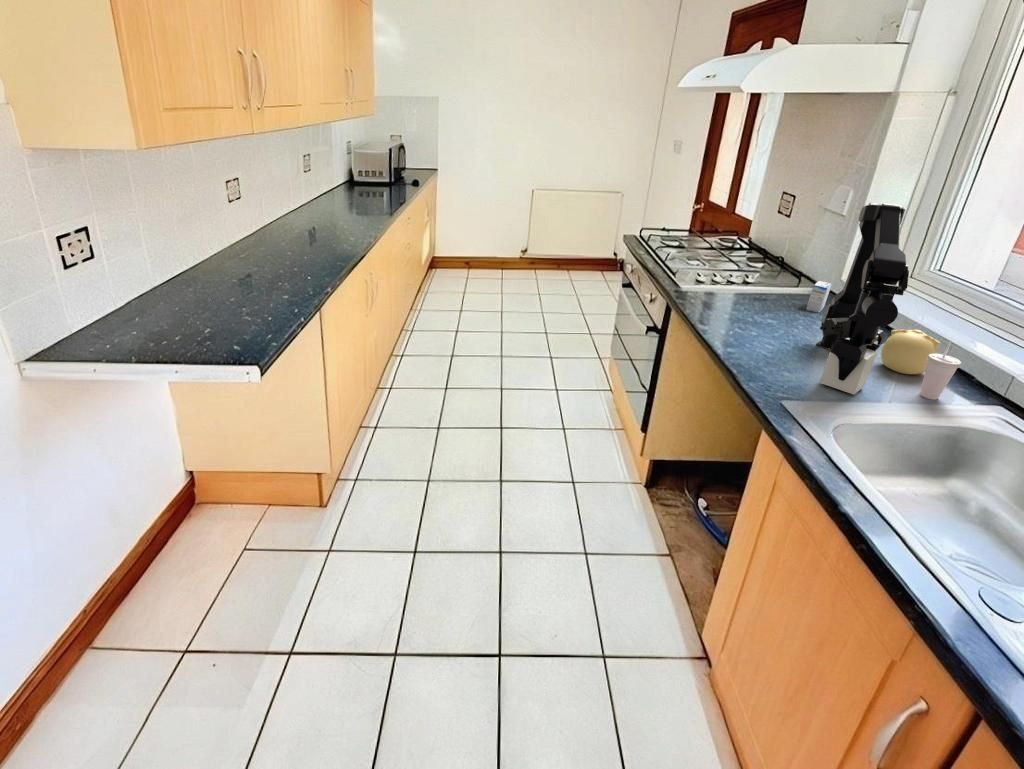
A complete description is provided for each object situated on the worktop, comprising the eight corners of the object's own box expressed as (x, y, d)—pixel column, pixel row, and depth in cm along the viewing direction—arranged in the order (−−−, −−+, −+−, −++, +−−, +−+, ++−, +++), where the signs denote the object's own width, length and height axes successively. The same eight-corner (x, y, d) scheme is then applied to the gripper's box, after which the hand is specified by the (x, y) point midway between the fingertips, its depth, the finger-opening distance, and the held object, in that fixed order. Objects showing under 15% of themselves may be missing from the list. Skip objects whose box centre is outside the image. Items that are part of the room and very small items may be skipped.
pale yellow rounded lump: (931, 371, 150) (948, 332, 145) (921, 383, 142) (938, 343, 137) (883, 357, 157) (897, 319, 152) (870, 368, 149) (885, 329, 144)
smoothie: (932, 390, 138) (955, 336, 132) (951, 402, 133) (976, 347, 126) (906, 389, 138) (929, 335, 132) (925, 401, 132) (949, 345, 126)
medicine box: (810, 304, 198) (817, 280, 194) (824, 307, 196) (832, 283, 192) (805, 309, 192) (813, 284, 188) (819, 313, 190) (828, 287, 186)
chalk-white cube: (864, 385, 136) (877, 351, 132) (853, 394, 131) (866, 359, 128) (831, 374, 141) (842, 341, 137) (819, 382, 136) (830, 348, 132)
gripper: (845, 296, 139) (826, 355, 146) (817, 310, 127) (797, 373, 134) (896, 309, 132) (873, 370, 139) (871, 325, 120) (847, 391, 127)
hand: (847, 375), depth 135 cm, fingers closed on chalk-white cube, 8 cm apart
